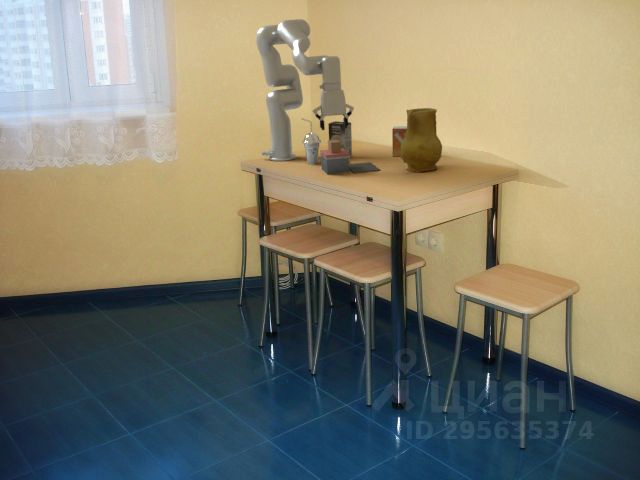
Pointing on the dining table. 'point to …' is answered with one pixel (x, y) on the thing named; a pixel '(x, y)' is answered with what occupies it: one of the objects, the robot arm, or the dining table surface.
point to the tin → (335, 165)
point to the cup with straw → (311, 146)
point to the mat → (363, 167)
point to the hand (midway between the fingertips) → (334, 128)
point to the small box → (398, 139)
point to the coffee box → (341, 135)
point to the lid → (334, 150)
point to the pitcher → (421, 141)
